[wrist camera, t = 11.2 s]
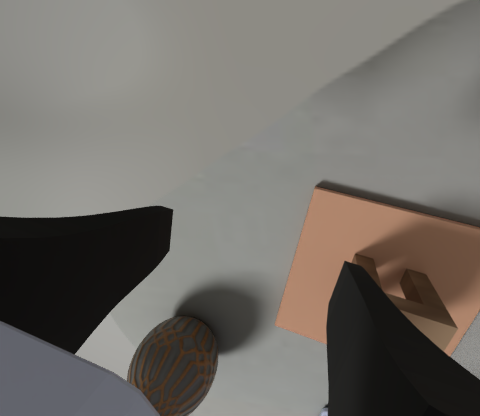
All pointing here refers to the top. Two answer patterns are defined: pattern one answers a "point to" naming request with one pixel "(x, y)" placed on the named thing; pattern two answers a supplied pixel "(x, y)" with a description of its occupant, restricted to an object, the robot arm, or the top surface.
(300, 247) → the mat
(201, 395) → the vase
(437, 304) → the notched brown block
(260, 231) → the top surface
